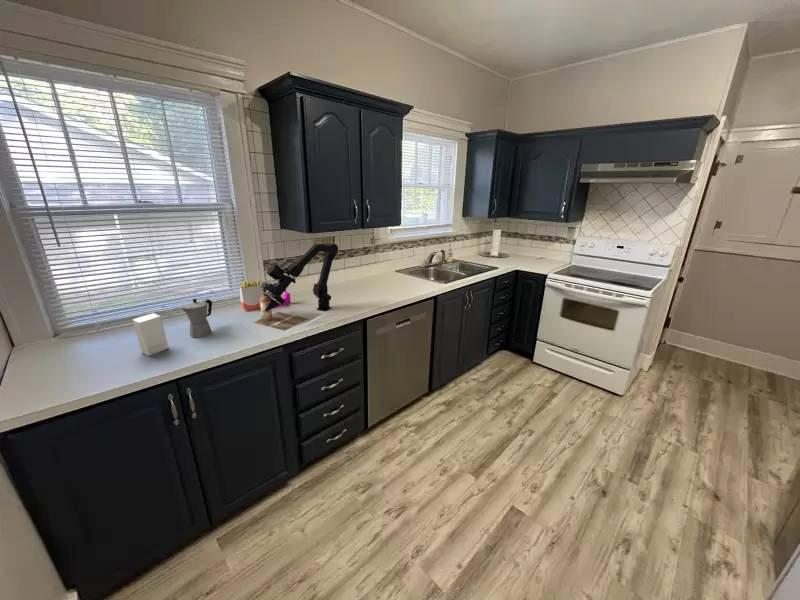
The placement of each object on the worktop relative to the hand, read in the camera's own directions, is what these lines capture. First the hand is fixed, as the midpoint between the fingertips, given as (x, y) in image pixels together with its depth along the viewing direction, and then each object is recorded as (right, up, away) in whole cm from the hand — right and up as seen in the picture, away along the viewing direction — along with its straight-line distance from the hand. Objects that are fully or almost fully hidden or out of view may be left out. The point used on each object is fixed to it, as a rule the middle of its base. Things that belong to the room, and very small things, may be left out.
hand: (263, 308), depth 169 cm
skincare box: (-34, -17, -29) cm, 48 cm away
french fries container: (-14, -1, +20) cm, 24 cm away
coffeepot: (-24, -12, -12) cm, 29 cm away
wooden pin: (+1, -6, +3) cm, 7 cm away
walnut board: (+9, -7, +3) cm, 12 cm away
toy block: (-2, 0, +26) cm, 26 cm away
